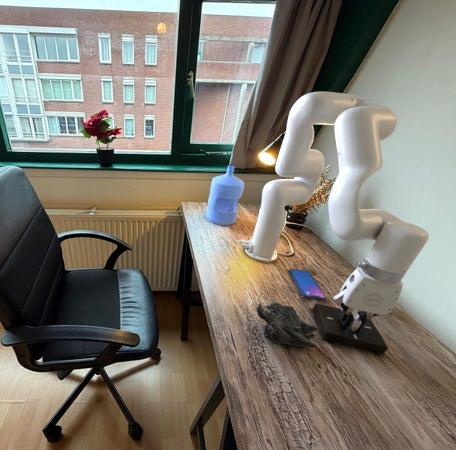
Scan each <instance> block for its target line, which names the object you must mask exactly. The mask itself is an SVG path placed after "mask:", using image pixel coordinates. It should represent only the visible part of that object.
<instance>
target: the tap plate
mask: <svg viewBox="0 0 456 450" xmlns="http://www.w3.org/2000/svg"><path fill="white" fill-rule="evenodd" d="M342 310H343V309H342V308H339V307H335V306H330V305H327V304H323V303H317V302H314V305H313V307H312V309H311V311H312V314H313V317H314V320H315V322H316V325H317V327H318V328H319V330H318V331H319V334H320V336H321V339H322V340H323V341H327V342H330V343H335V344H339V345H343V346H346V347H350V348H354V349H358V350H362V351H366V352H370V353H373V354H377V355H381V356H383V355H384V354H385V353H386V351H387V350H388V349H389V347H388V345H387V343H386V341H385V340H384V338H383V336H382V335H381V334H380V331H379V330H378V328H377V326H376V324H375V323H374V321H373V320H372V319H370V320H368V319H367V321H366V322H365V324H364V325H363V326H362V328H361V329H360V330H359V329H358V330H357V331H356V333H354V332H351V331H348V328H347V326H343V324H342V322H341V320H340V319H339V315H340V314H341V312H342Z"/></svg>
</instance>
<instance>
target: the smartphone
mask: <svg viewBox="0 0 456 450" xmlns="http://www.w3.org/2000/svg"><path fill="white" fill-rule="evenodd" d="M288 272H289V274H290V275H291V277H292V280H293V281H294V283H295V284H296V286H297V287H298V290H299V291H300V293H301V295H302V296H303V298H306V299H311V300H317V301H326V300H327V296H326V295H325V293H324V292H323V290H322V289H321V287H320V286H319V284H318V283H317V281H316V280H315V278H314V277H313V275H312V274H311V272H310V271H308V270H304V269H297V268H290V269H289V270H288Z"/></svg>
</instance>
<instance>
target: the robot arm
mask: <svg viewBox="0 0 456 450" xmlns="http://www.w3.org/2000/svg"><path fill="white" fill-rule="evenodd" d="M397 124H398V119H397V115H396V113H395V112H394V111H393V110H392V109H391V108H389V107H387V106H385V105H382V104H379V103H377V102H375V101H372V100H369V99H368V98H365V97H363V96H360V95H357V94H354V93H345V92H343V93H341V92H334V91H313V92H308V93H305V94H304V95H302V96H300V97H299V98H298V99H297V100H296V101H295V102H294V104H293V105H292V107H291V109H290V110H289V113H288V117H287V122H286V128H285V129H286V130H285V133H284V137H283V140H282V143H281V146H280V149H279V153H278V156H277V159H276V162H275V167H274V168H275V173H276V174H277V175H278V176H280V177H283V179H282V178H281V179H280V178H279V179H274V180H271V181H268V182H267V183H266V184H265V185H264V186H263V188H262V192H261V203H260V209H259V213H258V216H257V221H256V224H255V226H254V231H253V233H252V236H251V237H252V238H249V240H245V239H239V240H238V244H239V245H241V247H242V248H244V251H245V253H246V254H247V255H248V257H250V258H251V259H253V260H255V261H259V262H263V263H272V262H275V261H276V260H277V259H278V253H277V252H276V249H277V246H278V244H279V240H280V238H281V234H282V232H283V229H284V226H285V222H286V219H287V213H286V209H285V207H286V206H287V207H288V206H298V205H303V204H306V203H307V202H309V201H310V200H311V198H313V194H314V192H316V188H317V186H318V183H319V181H320V178H321V176H322V174H323V172H324V169H325V161H326V160H325V156H324V155H323V153H322V152H321V151H319V150H318V149H315V148H311V147H312V144H313V142H314V138H315V128H314V125H325V126H334V136H335V144H336V152H337V158H338V159H337V160H338V169H339V170H338V171H339V173H338V176H337V177H336V179H335V181H333V182H334V183H333V184H332V187H331V189H330V192H329V195H328V199H327V210H328V216H329V217H328V218H329V223H330V227H331V229H332V232H333V234H334V235H335V236H336V237H338V238H339V239H341V240H344V241H348V242H355V241H365V240H370V241H374V243H373V244H372V246H371V248H370V250H369V252H368V254H367V255H366V257H365V258H364V259H363V261H357V262H356V268H355V270H354V271H353V272H352V273H351V274H350V275H349V276H348V278H347V279H346V280H345V282H344V283H343V285H342V287H341V288H340V289H339V290H340V291H339V293H337V294H335V295H334V296H333V297H332V300H333V302H334V303H335V304H337V305H338V306H340V307H341V309H343V310H342V312H341V314H340V315H339V319H340V320H341V322H342V324H343V326H347V324H348V323H349V321H350V319H351V318H352V315H351V313H352V312H353V310H354V309H357V312H358V314H359V317H360V319H361V321H362V323H361V325H360V327H359V328H358V329H359V330H360V329H361V328H362V326H363V325H364V324H365V322H366V321H367V319H368V320H370V319H371V320H372V319H373V318H374V317H378V316H388V315H390V314H391V312H392V311H393V309H394V308H395V306H396V304H397V302H398V301H399V298H400V296H401V294H402V290H403V286H404V282H403V281H402V280H403V278H404V276H405V275H406V274H407V272H409V271H408V270H409V269H410V268H411V266H412V265H413V263H414V262H415V260H416V258H418V256H419V254H420V253H421V252H422V250H423V249H424V247H425V246H426V244H427V243H428V240H429V238H430V237H429V236H430V235H429V232H428V231H427V230H425V229H424V228H422V227H420V226H418V225H416V224H413V223H409V222H406V221H404V220H402V219H400V218H399V217H398V216H396V215H393V214H392V213H390V212H389V211H387V210H385V209H379V208H369V209H367V208H366V209H361V207H360V192H361V190H362V187H363V185H364V183H366V181H367V180H368V179H369V178H370V177H371V176H373V174H375V173H377V172H378V171H379V170H381V169H382V167H383V165H384V161H383V155H382V148H381V147H382V145H381V141H384V140H387V138H389V137H391V136H392V134H393V133H394V132H395V130H396V128H397ZM289 178H290V179H289ZM292 178H293V179H292Z"/></svg>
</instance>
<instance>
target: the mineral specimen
mask: <svg viewBox="0 0 456 450" xmlns="http://www.w3.org/2000/svg"><path fill="white" fill-rule="evenodd" d="M255 312H256V313H257V316H258V318H260V319H262V320H263V321H265V323H266V325H265V326H264V333H263V334H264V336H263V337H264V338H265V339H266V340H268V342H271V343H274V344H280V345H281V344H282V345H290V346H293V347H300V348H303V347H308V348H311V349H318V345H317V344H316V343H315V342H313V341H312V339H313V338H315V337H316V334H315V333H314V332H318V331H319V328H318V326H316V325H311V324H309V323H308V322H305V321H303V320H301V318H300V315H299V314H298V312H297V311H296V309H295V307H294V306H290V305H284V304H281V303H279V302H275V301H272V302H270V303H269V304H267V305H262V304H261V303H257V306H256V308H255Z"/></svg>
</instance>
